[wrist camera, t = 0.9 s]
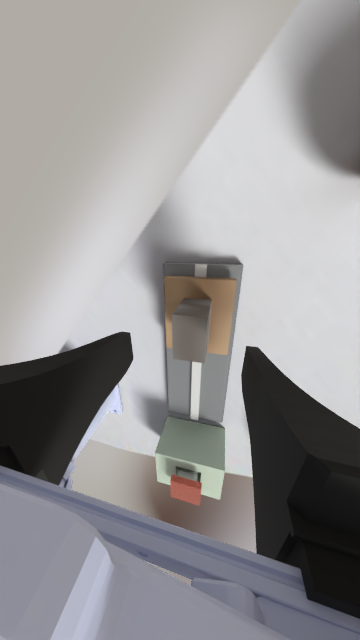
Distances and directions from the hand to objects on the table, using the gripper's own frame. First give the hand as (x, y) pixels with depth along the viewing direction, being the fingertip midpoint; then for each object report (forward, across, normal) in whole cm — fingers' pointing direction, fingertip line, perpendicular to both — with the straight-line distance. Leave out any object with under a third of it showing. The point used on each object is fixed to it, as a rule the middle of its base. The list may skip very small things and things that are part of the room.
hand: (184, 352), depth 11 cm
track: (+8, 0, +5) cm, 9 cm away
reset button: (+4, 0, +19) cm, 20 cm away
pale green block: (+8, 0, +20) cm, 21 cm away
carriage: (+7, 0, 0) cm, 7 cm away
